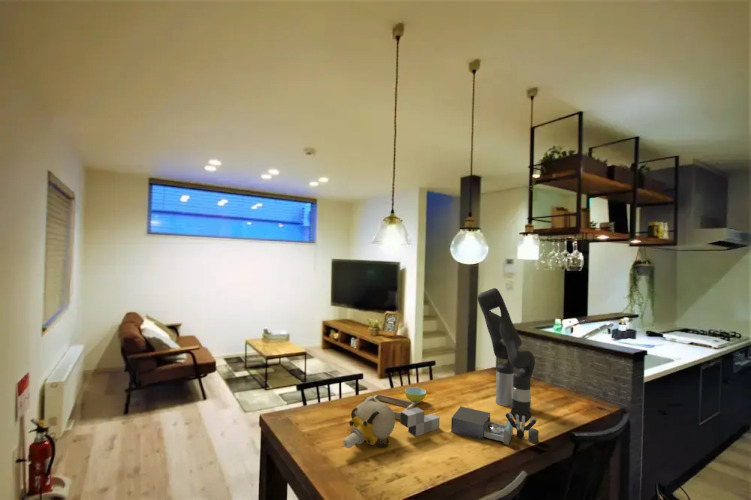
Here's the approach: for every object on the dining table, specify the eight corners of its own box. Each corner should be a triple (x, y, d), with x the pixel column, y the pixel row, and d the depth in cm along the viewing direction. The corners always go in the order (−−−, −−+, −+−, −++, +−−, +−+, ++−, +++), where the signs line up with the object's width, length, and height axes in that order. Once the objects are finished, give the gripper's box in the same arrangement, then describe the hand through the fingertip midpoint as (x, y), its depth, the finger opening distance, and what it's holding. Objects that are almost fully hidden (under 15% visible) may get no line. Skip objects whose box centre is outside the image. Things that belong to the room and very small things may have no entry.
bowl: (427, 407, 192) (427, 395, 192) (405, 406, 192) (405, 394, 193) (424, 398, 204) (425, 387, 204) (404, 398, 204) (404, 386, 204)
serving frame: (377, 399, 200) (377, 393, 201) (415, 408, 190) (415, 402, 190) (362, 410, 186) (362, 404, 186) (401, 420, 175) (401, 414, 175)
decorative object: (368, 385, 170) (317, 410, 148) (406, 407, 156) (356, 438, 133) (365, 414, 173) (315, 443, 151) (402, 439, 158) (353, 475, 136)
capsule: (528, 437, 162) (529, 427, 162) (538, 440, 160) (538, 429, 160) (527, 441, 158) (528, 431, 158) (537, 444, 156) (538, 433, 156)
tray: (479, 425, 172) (479, 412, 172) (512, 433, 165) (513, 420, 165) (473, 435, 161) (473, 422, 161) (508, 444, 154) (508, 430, 154)
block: (407, 439, 157) (407, 415, 157) (399, 435, 161) (400, 411, 161) (439, 428, 168) (439, 406, 168) (431, 424, 172) (432, 402, 172)
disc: (489, 426, 167) (489, 423, 167) (502, 430, 164) (503, 426, 164) (486, 431, 162) (486, 428, 162) (500, 435, 159) (500, 431, 159)
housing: (460, 419, 178) (460, 406, 178) (489, 427, 171) (490, 413, 171) (451, 432, 164) (451, 417, 165) (482, 440, 158) (483, 425, 158)
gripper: (503, 397, 158) (502, 438, 158) (537, 404, 152) (536, 446, 151) (506, 392, 165) (505, 431, 164) (538, 398, 158) (537, 438, 158)
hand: (520, 438), depth 158 cm, fingers closed
